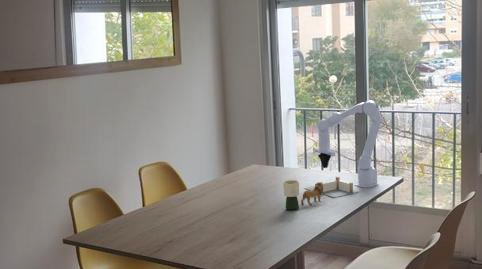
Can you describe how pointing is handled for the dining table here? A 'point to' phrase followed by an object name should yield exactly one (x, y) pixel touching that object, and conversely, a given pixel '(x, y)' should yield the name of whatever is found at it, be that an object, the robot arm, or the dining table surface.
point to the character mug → (291, 193)
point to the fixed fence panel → (344, 185)
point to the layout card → (333, 192)
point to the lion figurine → (313, 193)
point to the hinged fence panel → (329, 185)
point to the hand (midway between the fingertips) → (325, 167)
